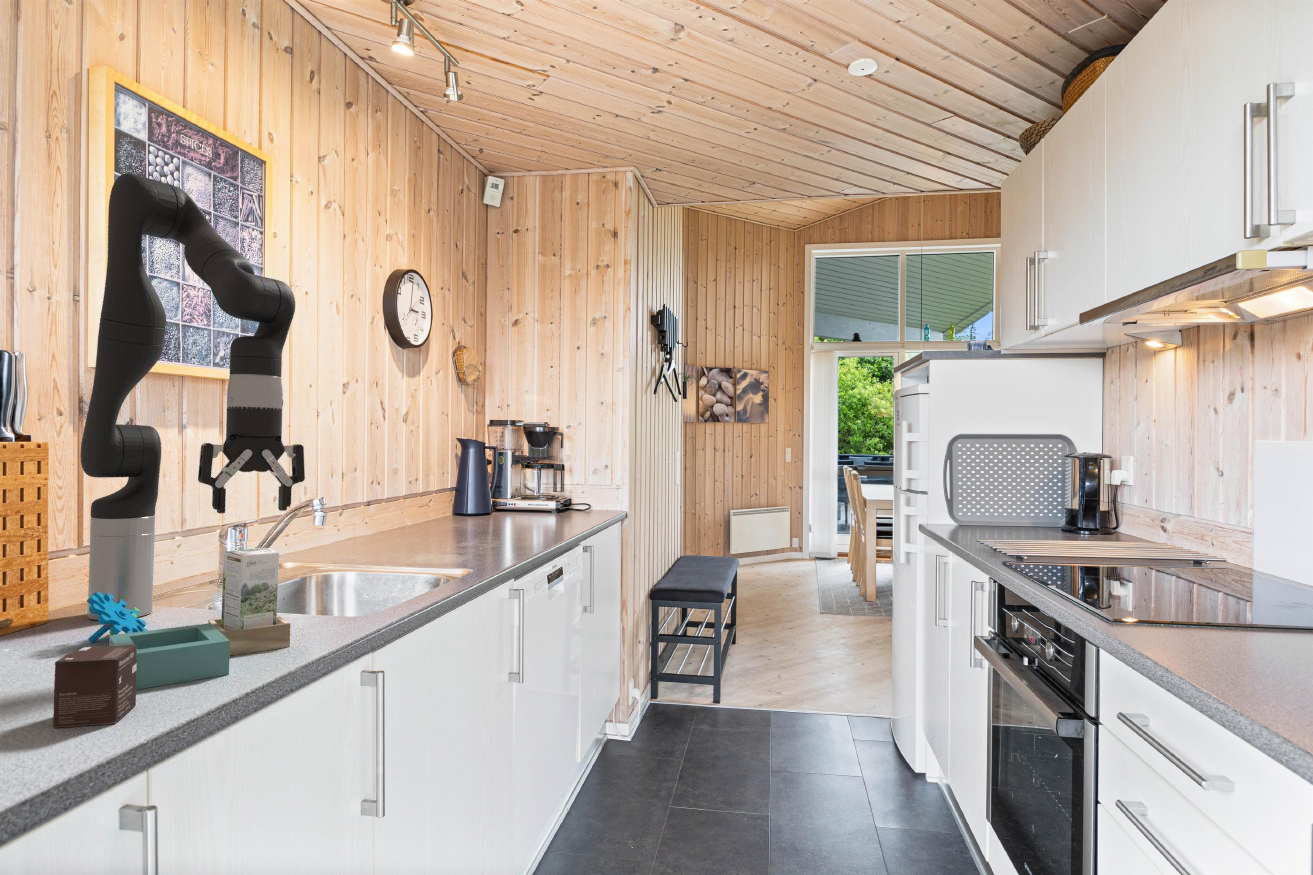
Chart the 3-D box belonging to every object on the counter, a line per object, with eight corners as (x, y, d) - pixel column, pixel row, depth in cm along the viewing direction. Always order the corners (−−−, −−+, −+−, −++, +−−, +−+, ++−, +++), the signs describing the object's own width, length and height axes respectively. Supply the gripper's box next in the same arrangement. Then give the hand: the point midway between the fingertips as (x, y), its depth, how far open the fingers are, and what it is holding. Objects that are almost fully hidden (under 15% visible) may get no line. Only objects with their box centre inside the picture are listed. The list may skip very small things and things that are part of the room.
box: (115, 725, 83) (117, 658, 83) (50, 729, 81) (52, 661, 81) (137, 706, 88) (138, 643, 88) (76, 709, 87) (78, 646, 87)
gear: (130, 638, 110) (82, 590, 110) (96, 668, 109) (47, 620, 109) (165, 630, 121) (121, 586, 121) (134, 657, 120) (90, 613, 120)
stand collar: (207, 642, 115) (208, 620, 115) (272, 633, 121) (273, 612, 121) (221, 656, 108) (222, 632, 108) (289, 646, 114) (290, 623, 114)
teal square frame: (108, 668, 102) (109, 635, 102) (209, 653, 110) (210, 623, 110) (119, 692, 93) (120, 655, 93) (228, 674, 101) (229, 640, 101)
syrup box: (257, 637, 119) (260, 546, 119) (277, 644, 115) (279, 550, 115) (219, 645, 114) (222, 549, 114) (238, 652, 111) (241, 554, 111)
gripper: (297, 408, 123) (294, 508, 122) (196, 404, 113) (193, 511, 113) (311, 407, 117) (309, 511, 117) (207, 402, 107) (204, 515, 107)
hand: (252, 511), depth 115 cm, fingers open, 8 cm apart
